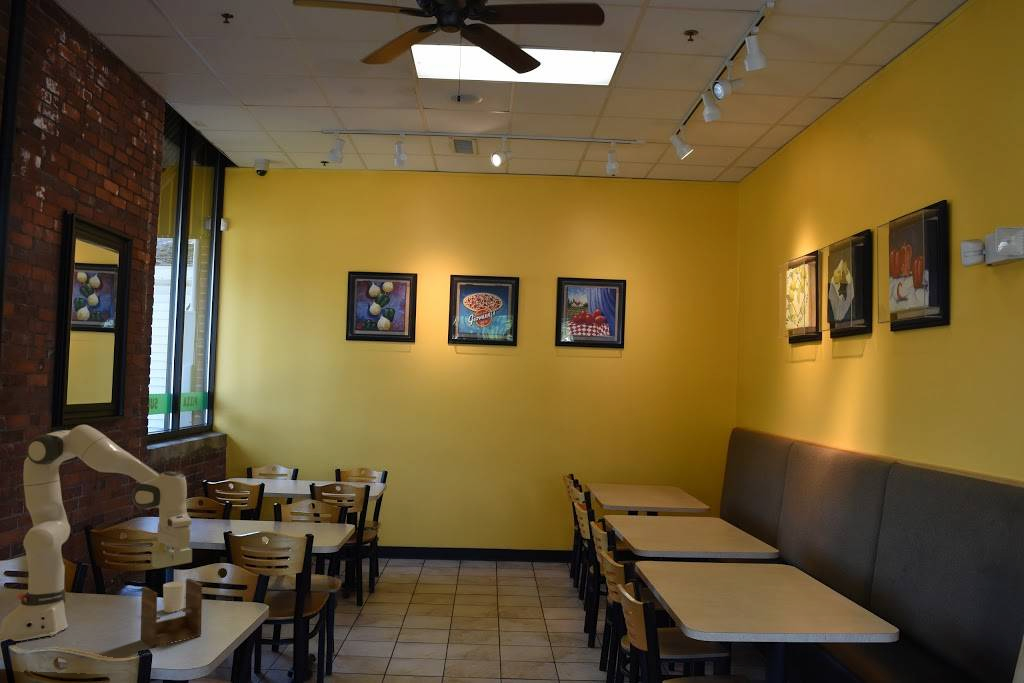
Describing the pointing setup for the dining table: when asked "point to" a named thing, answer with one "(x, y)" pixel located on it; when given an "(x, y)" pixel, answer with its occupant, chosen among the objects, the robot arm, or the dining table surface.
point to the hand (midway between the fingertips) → (172, 558)
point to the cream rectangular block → (166, 558)
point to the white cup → (173, 596)
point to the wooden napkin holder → (174, 627)
